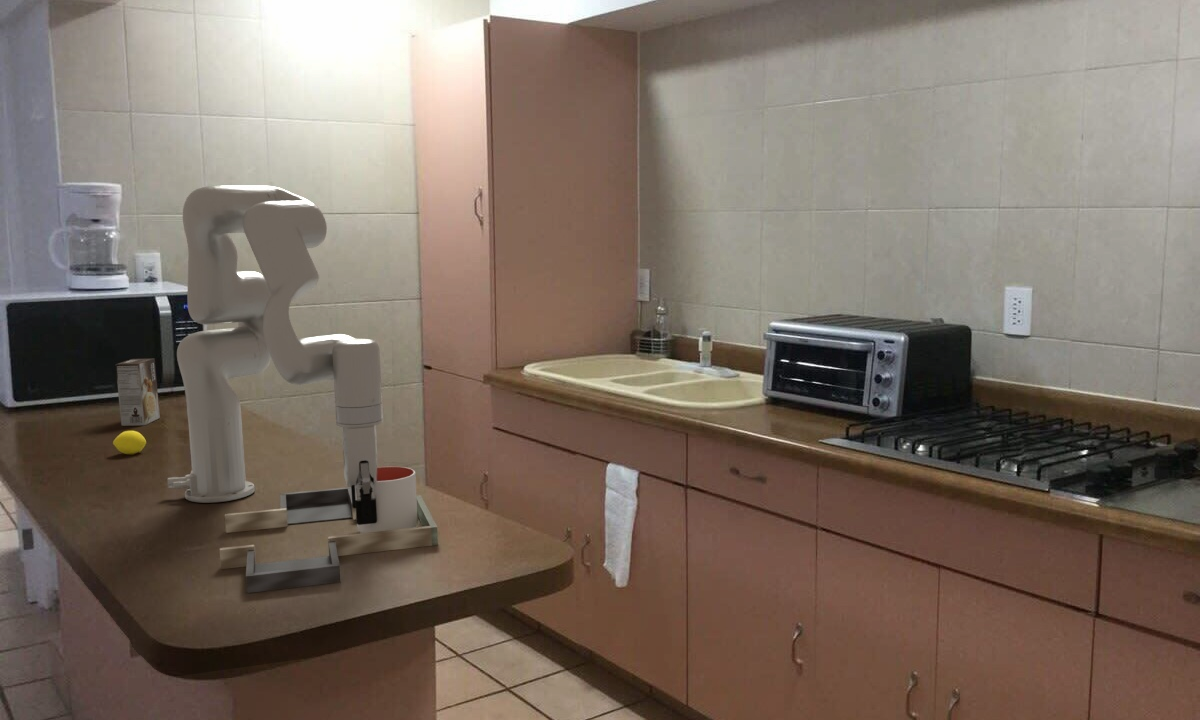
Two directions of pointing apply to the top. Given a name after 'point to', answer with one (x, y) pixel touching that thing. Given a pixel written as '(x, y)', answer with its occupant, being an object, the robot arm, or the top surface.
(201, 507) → the top surface
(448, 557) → the top surface
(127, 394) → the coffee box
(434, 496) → the top surface
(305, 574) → the box
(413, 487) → the cup
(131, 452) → the lemon
